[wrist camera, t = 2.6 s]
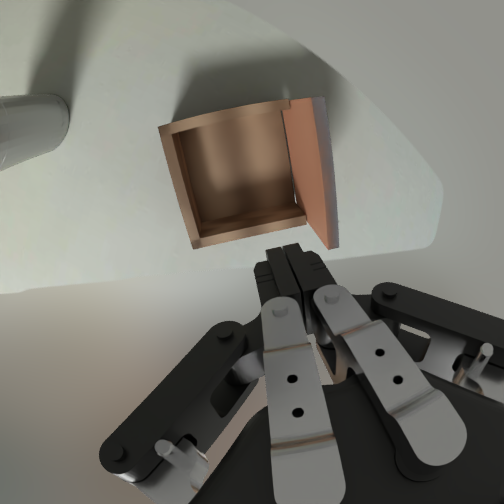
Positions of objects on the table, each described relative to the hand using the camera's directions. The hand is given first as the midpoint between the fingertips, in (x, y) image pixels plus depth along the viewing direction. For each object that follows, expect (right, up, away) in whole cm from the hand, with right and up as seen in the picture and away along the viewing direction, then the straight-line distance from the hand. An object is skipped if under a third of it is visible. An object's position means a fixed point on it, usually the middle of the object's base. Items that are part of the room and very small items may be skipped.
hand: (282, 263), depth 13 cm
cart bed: (-4, +13, +23) cm, 27 cm away
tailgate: (+3, +13, +21) cm, 25 cm away
